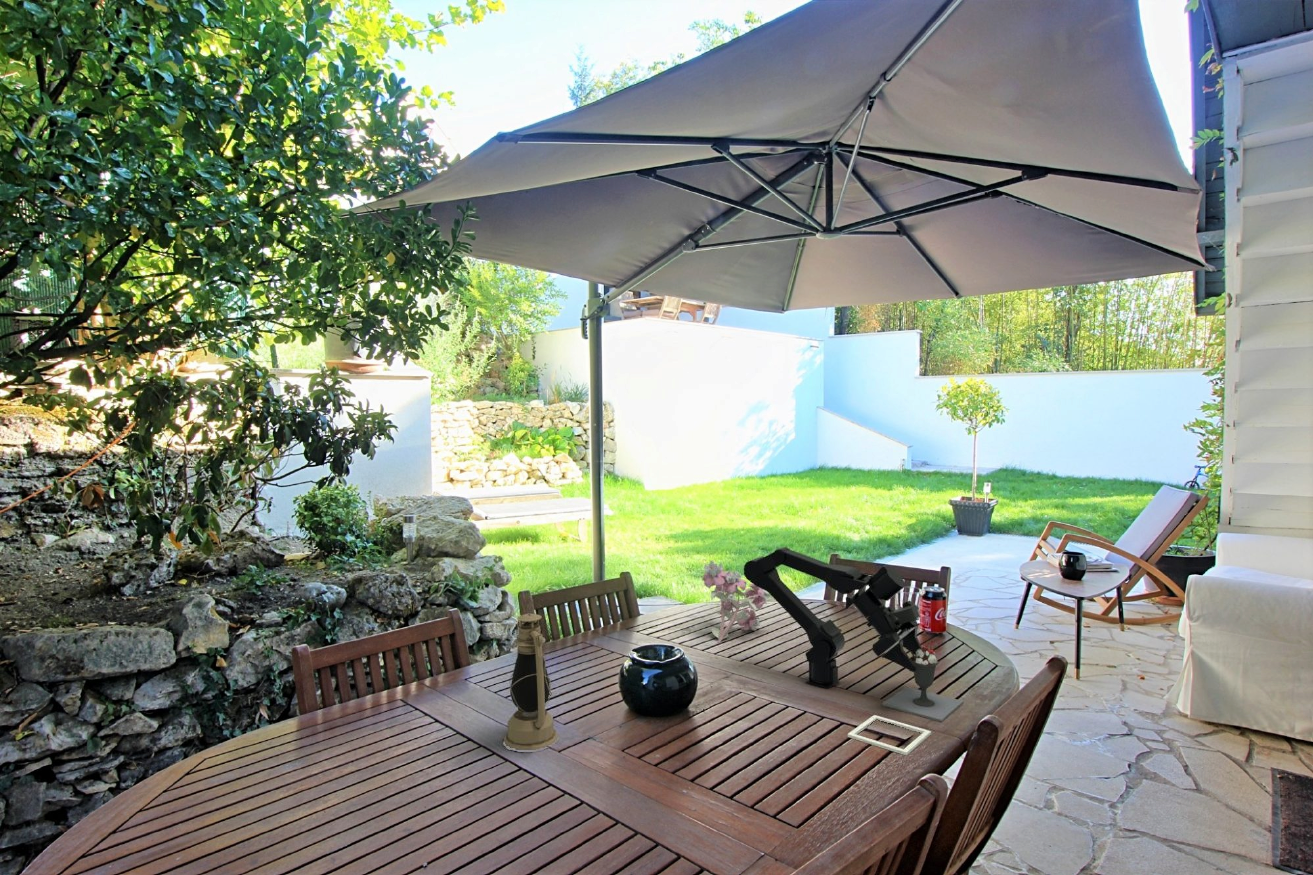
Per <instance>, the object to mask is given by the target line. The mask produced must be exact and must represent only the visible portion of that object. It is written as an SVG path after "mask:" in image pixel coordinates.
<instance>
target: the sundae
mask: <svg viewBox="0 0 1313 875" xmlns="http://www.w3.org/2000/svg"><path fill="white" fill-rule="evenodd" d="M934 642H935V640H933V639H931V640H930V642H929V643H928V644H927V645H923V646H922V648H921V649H918V650H917V651H916V654H915V655H914V654H913V652H912V651H909V652H910V653H911V657H909V658H910V660H911V661H912V662H913V664H914V666H915V667H916V670H915V671H914V672H913V677H914V681H915V684H916V685H917V686H918V687H920V690H921V696H920V698H915V699H913V702H914V703H915V704H917V705H920V706H926V707H928V706H933V705H934V704H935V703H934V701H932V700H930V699H928V698H927V694H926V692H927V689H928V688H930V687H931V686H932V685H933V683H934V680H935V672H936V667H937V665H939V664H940V662H939V660H938V659H937V657H936V655H935V654H934V650H933V649H932V644H933V643H934ZM929 645H930V647H928V646H929Z"/></svg>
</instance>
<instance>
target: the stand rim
mask: <svg viewBox="0 0 1313 875" xmlns="http://www.w3.org/2000/svg"><path fill="white" fill-rule="evenodd" d="M876 719H878V720H880V721H879V722H881V721H884V722H887V723H886V724H888V723H891V724H894V725H893V726H895V725H897V726H896V727H898V726H900V727H899V728H902V727H904V728H903V729H905V728H906V729H905V730H908V729H909V731H912V732H915V731H916V733H919V732H920V735H919V736H918V737H916V738H915V739H914V740H913V741H912V742H911V743H910V744H908V745H907V746H906V747H905V748H901V747H897V746H894V745H890V744H888V743H885V742H881V741H878V740H875V739H871V738H868V737H865V736H862V735H859V733H861V732H862V731H864V730H865V729H866V728H868V727H869V726H871V725H872V724H873V723H874V722H873V721H875V720H876ZM878 720H876V721H878ZM876 721H875V722H876ZM872 722H873V723H872ZM884 722H883V723H884ZM871 723H872V724H871ZM870 724H871V725H870ZM891 724H890V725H891ZM868 725H869V726H868ZM867 726H868V727H867ZM930 735H932V731H931V730H928V729H924V728H921V727H917V726H914V725H910V724H907V723H903V722H900V721H897V720H893V719H890V718H886V717H883V716H879V715H875V714H874V715H872V716H871V717H869V718H868V719H866V720H865V721H864V722H862V723H861V724H859V725H858V726H857V727H856V728H854V729H852V730H851V731H850V732H848V733H847V738H850V739H853V740H857V741H859V742H862V743H865V744H869V745H872V746H876V747H879V748H880V749H881V748H882V749H884V750H888V751H891V752H895V753H897V754H901V755H903V756H908V755H909V754H910V753H912V751H913V750H915V749H916V748H917V747H918V746H920V745H921V744H922V743H923V742H924V741H925V740H926V739H927V738H928V737H930Z"/></svg>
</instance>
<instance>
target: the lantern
mask: <svg viewBox="0 0 1313 875" xmlns="http://www.w3.org/2000/svg"><path fill="white" fill-rule="evenodd" d="M528 604H529V606H530V608H529V607H528ZM526 607H527V613H524V614H521V615H519V616H517V617H516V620H517V622H516V623H517V624H516V638H515V639H514V641H513V644H514V645H516V646H517V648H516V649H517V653H516V659H515V663H514V664H515V665H514V668H513V672H512V674H511V675H510V678H509V681H510V684H509V694H510V697H511V701H512V703H513V705H514V706H515V707H516V708H517V710H516V711H515V712H514V713H513V714H512V716H511V717H510V718H509V719H508V721H507V733H506V734H505V735H504V736H503V738H504V742H505V744H506V746H509V747H510V748H515V749H516V750H536V749H540V748H545V747H546V746H549V745H551V744H552V743H554V742H556V740H557V738H558V731H556V730H555V728H554V726H555V725H554V724H555V723H554V717H553V716H552V715H551V714H550V713H549V711H548V710H546V707H547V705H548V703H549V701H550V698H551V696H553V693H552V680H551V677H550V676H549V674H548V670H547V666H546V664H547V663H546V662H547V660H546V659H547V657H546V654H545V653H543V644H544V643H546V637H543V633H541V625H540V620H541V619H542V615H541V614H537V613H536V614H535V613H532V612H531V611H532V605H531V602H530V600H529V601H527V602H526ZM528 608H529V609H528ZM523 622H524V623H523Z"/></svg>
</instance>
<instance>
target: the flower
mask: <svg viewBox="0 0 1313 875" xmlns="http://www.w3.org/2000/svg"><path fill="white" fill-rule="evenodd" d="M703 568H704V571H705V572H704V573H703V575H702V578H701V579H702V581H703V584H704V586H705V587H707V588H709V589H711V587H713V586H715V588H714V590H711V591H710V599H711V601H713V600H714V598H717V599H720V600H719V601H718V603H720V602H721V604H720V606H721V607H720V610H719V611H718V612H717V613H716V615H721V623H720V628H719V627H714V626H712V627H711V632H712V635H713V636H714V637H716V638H717V639H718V640H717V642H718V643H720V642H721V641H722V640H724V639H729V637H730V636H729V631H730V630H731V629H732V627H733V625H734V624H735V622H737V625H738V626H739V627H740V629H741V630H742V631H743V632H744V631H745V632H746V631H749V630H752V632H753V631H758V630H757V628H758V627H759V626H760V625H761V622H760V619H761V618H760V617H758V616H757V615H756V610H757V609H758V610H761V608H763V606H764V605H766V604H767V602H770V601H771V599H772V598H771V595H770V594H769V593H768V592H767V591H765V590H763V589H761V588H759V587H757V586H755V585H754V584H753V583H750V584H749V585H748V587H750V588H751V589H749V588H748V589H746V588H747V581H746V580H745V579H743V576H742V574H741V573H740V572H739V571H738V570H736V571H731V568H730V567H728V570H727V571H725V569H724V568H723V564H722V562H719V564H718V566H717V563H715V561H713V560H711V559H710V560H709V564H708V563H707V564H705V563H704V567H703ZM740 589H741V590H742V591H741V590H740ZM745 590H746V591H745ZM744 591H745V592H744ZM735 594H737V597H738V598H737V599H736V595H735ZM740 596H743V597H744V598H745V599H744V600H743V601H741V603H740ZM751 600H752V601H751ZM746 607H749V608H750V609H748V608H746ZM733 608H734V609H735V611H734V610H733ZM740 608H743V609H742V610H741V611H739V609H740ZM725 617H726V618H727V619H728V620H729V622H728V623H727V625H726V626H725ZM724 627H725V628H724Z"/></svg>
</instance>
